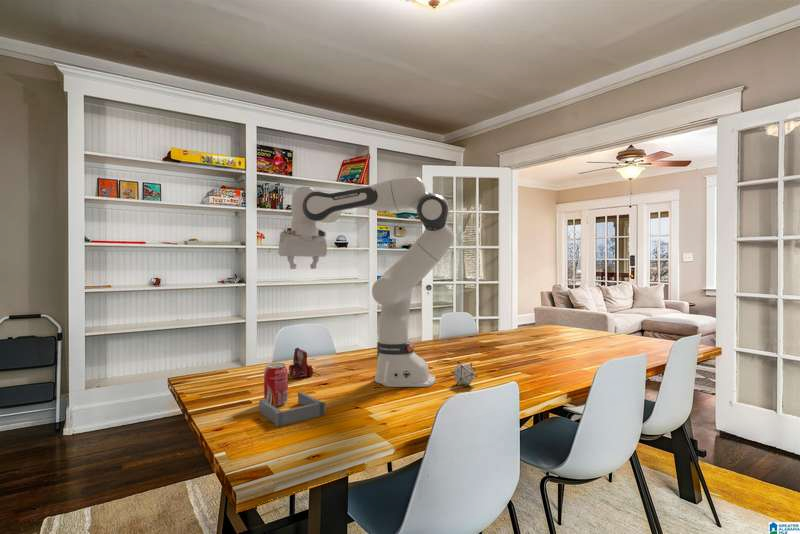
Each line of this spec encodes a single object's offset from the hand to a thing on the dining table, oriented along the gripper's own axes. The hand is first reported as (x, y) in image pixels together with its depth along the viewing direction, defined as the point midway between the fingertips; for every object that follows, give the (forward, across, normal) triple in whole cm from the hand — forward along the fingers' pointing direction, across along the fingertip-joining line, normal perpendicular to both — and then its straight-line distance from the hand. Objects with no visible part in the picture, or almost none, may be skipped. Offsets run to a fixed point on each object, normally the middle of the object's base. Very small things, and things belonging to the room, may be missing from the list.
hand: (303, 268), depth 161 cm
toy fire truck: (+42, +4, +6) cm, 42 cm away
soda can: (+42, -23, -15) cm, 50 cm away
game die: (+41, +30, -51) cm, 72 cm away
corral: (+41, -26, -25) cm, 55 cm away
